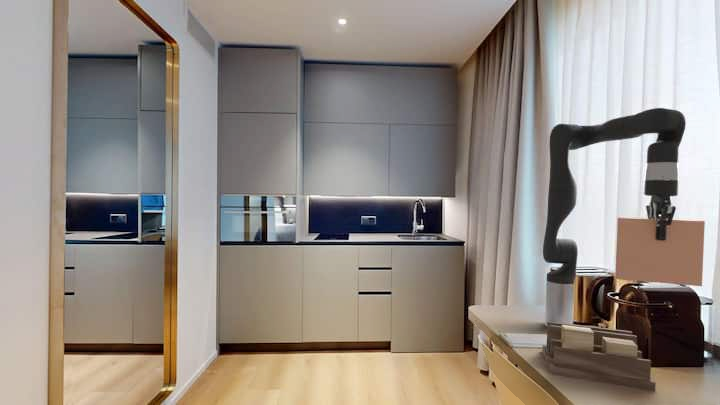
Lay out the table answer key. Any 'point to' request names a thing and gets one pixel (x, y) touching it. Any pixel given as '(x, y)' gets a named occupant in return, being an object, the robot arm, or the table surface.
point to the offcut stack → (585, 340)
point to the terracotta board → (660, 251)
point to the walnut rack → (597, 359)
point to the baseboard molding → (524, 340)
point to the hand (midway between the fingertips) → (658, 239)
